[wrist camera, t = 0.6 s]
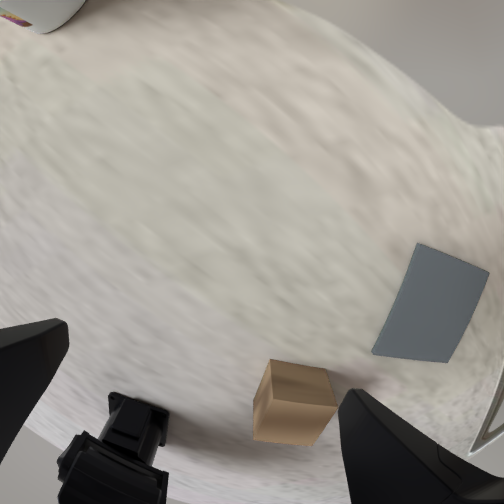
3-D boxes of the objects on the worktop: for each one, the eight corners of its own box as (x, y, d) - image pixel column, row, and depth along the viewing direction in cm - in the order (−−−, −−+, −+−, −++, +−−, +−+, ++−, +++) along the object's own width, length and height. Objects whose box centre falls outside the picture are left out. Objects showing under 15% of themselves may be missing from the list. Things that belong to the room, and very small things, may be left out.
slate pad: (445, 360, 23) (447, 362, 22) (371, 351, 22) (373, 354, 22) (486, 271, 20) (489, 272, 20) (417, 242, 20) (420, 244, 19)
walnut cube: (304, 407, 24) (312, 446, 19) (253, 399, 24) (253, 439, 19) (324, 368, 23) (338, 407, 18) (269, 358, 22) (273, 398, 18)
